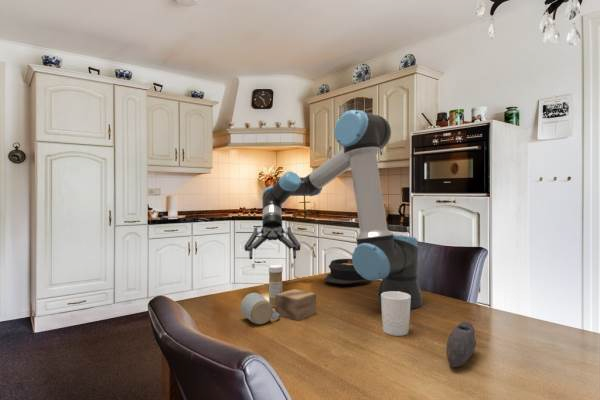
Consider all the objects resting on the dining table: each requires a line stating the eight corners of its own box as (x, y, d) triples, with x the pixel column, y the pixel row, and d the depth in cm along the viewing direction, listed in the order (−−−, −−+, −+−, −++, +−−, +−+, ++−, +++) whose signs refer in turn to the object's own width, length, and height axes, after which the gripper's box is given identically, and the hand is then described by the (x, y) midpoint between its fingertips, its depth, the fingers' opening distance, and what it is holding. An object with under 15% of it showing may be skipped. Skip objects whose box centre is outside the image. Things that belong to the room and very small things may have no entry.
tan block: (316, 313, 120) (316, 293, 120) (297, 320, 113) (297, 299, 113) (294, 307, 126) (294, 288, 126) (275, 314, 119) (275, 294, 119)
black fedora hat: (345, 273, 178) (345, 255, 178) (382, 279, 167) (382, 260, 166) (313, 283, 159) (313, 263, 159) (352, 291, 147) (352, 269, 147)
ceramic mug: (250, 328, 108) (251, 300, 107) (240, 319, 115) (240, 293, 114) (284, 322, 113) (284, 296, 113) (272, 314, 120) (272, 289, 120)
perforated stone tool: (463, 376, 80) (463, 343, 80) (437, 369, 83) (437, 337, 83) (479, 352, 92) (479, 323, 92) (456, 346, 95) (456, 318, 95)
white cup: (411, 328, 107) (411, 292, 107) (409, 338, 100) (410, 300, 100) (382, 325, 110) (382, 290, 110) (378, 334, 103) (379, 297, 102)
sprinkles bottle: (274, 303, 131) (274, 263, 131) (285, 305, 129) (285, 265, 128) (265, 306, 127) (265, 266, 127) (277, 308, 125) (277, 267, 124)
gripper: (303, 225, 153) (307, 271, 139) (240, 225, 151) (237, 272, 137) (304, 213, 148) (309, 259, 133) (239, 213, 146) (236, 260, 131)
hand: (272, 265), depth 135 cm, fingers open, 13 cm apart
